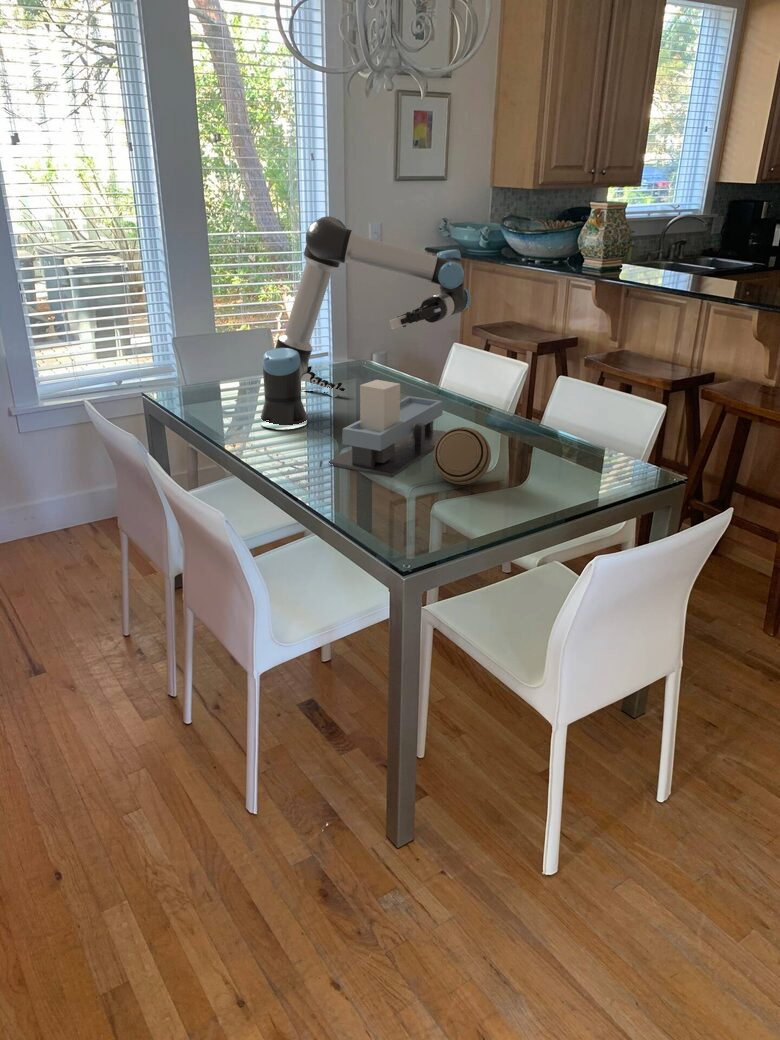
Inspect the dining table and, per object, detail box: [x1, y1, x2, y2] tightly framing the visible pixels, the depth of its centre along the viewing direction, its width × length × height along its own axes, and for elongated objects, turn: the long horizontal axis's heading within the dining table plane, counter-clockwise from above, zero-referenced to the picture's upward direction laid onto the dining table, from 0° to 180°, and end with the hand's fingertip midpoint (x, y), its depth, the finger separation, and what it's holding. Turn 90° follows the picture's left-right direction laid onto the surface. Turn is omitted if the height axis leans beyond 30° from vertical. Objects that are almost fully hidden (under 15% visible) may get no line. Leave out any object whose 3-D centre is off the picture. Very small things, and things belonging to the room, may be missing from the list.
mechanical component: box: [432, 426, 492, 486], centre depth 206 cm, size 15×15×15 cm
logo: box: [301, 365, 346, 391], centre depth 290 cm, size 21×2×10 cm, turn 56°
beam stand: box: [328, 420, 447, 478], centre depth 232 cm, size 42×20×9 cm, turn 152°
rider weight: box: [359, 379, 401, 432], centre depth 220 cm, size 8×8×12 cm
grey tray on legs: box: [341, 395, 444, 463], centre depth 231 cm, size 40×13×9 cm, turn 152°
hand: (392, 324), depth 228 cm, fingers closed
